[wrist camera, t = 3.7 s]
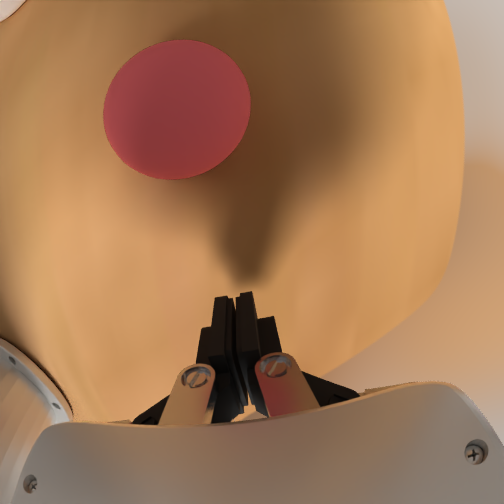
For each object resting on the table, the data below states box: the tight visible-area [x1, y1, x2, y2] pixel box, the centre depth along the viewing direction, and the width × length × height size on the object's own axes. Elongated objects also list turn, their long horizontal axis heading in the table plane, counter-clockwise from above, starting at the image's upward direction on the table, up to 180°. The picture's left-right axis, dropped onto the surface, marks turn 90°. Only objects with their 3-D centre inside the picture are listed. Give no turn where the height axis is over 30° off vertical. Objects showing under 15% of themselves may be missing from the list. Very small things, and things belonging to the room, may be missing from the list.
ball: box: [103, 40, 251, 180], centre depth 9 cm, size 6×6×6 cm
